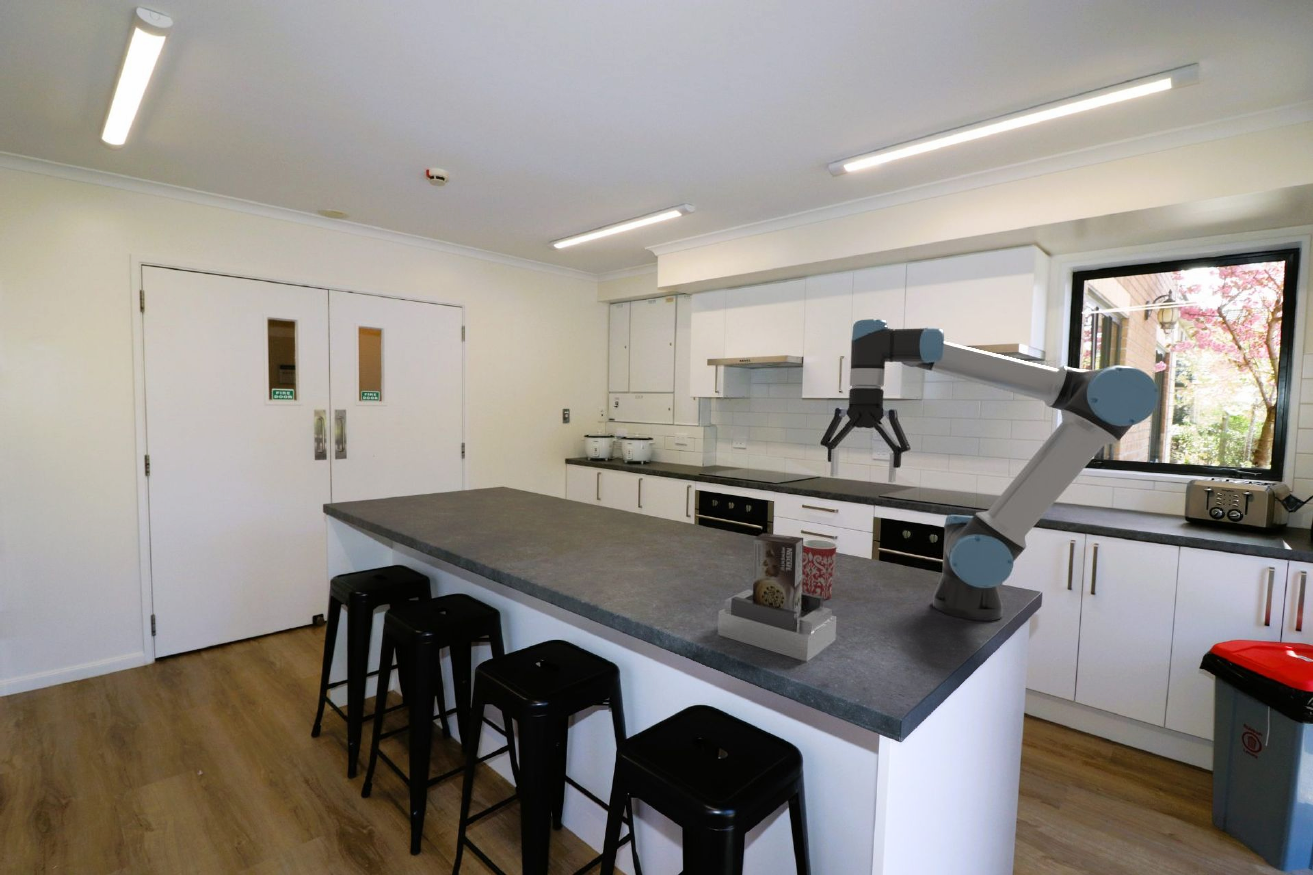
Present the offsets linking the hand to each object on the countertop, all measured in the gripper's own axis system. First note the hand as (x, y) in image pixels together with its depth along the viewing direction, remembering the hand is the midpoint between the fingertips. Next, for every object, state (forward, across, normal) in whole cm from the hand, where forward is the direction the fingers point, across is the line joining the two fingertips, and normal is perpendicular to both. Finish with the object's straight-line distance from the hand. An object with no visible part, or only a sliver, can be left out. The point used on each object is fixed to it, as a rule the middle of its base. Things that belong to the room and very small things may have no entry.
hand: (862, 479), depth 143 cm
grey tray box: (+32, +7, +27) cm, 42 cm away
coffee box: (+27, +7, +27) cm, 39 cm away
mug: (+32, +12, -7) cm, 35 cm away
